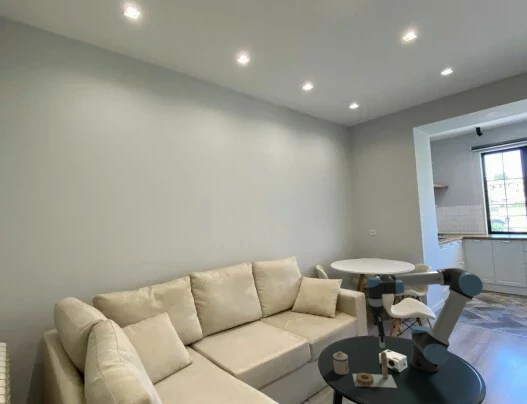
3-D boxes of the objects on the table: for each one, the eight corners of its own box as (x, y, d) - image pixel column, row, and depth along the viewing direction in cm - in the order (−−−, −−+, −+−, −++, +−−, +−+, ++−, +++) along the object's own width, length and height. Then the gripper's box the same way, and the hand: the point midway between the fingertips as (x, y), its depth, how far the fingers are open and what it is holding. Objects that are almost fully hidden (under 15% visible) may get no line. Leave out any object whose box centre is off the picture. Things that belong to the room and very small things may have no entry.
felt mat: (391, 375, 168) (391, 374, 168) (397, 388, 156) (397, 387, 156) (352, 374, 172) (352, 373, 172) (355, 386, 160) (355, 386, 160)
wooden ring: (371, 377, 167) (371, 372, 167) (375, 386, 158) (374, 382, 158) (355, 376, 168) (355, 372, 168) (358, 386, 159) (357, 381, 160)
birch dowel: (387, 376, 167) (385, 351, 167) (388, 379, 164) (386, 354, 164) (382, 376, 167) (380, 351, 168) (383, 379, 164) (381, 354, 165)
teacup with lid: (349, 375, 170) (348, 355, 170) (334, 375, 172) (332, 355, 172) (348, 364, 182) (346, 346, 182) (333, 364, 184) (331, 345, 184)
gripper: (365, 298, 180) (368, 332, 179) (373, 312, 156) (377, 352, 155) (378, 297, 179) (381, 332, 178) (388, 312, 154) (392, 352, 154)
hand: (379, 341), depth 167 cm, fingers open, 13 cm apart
